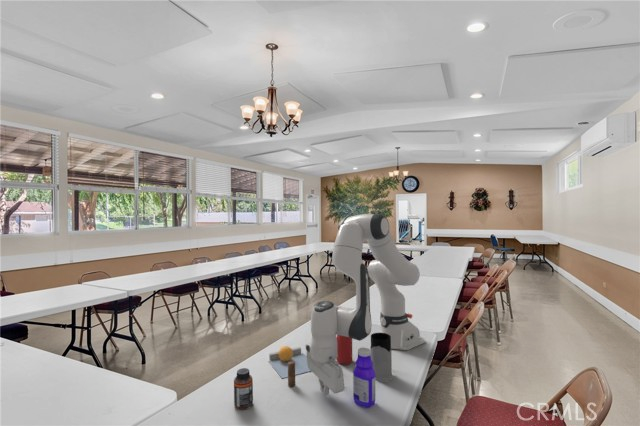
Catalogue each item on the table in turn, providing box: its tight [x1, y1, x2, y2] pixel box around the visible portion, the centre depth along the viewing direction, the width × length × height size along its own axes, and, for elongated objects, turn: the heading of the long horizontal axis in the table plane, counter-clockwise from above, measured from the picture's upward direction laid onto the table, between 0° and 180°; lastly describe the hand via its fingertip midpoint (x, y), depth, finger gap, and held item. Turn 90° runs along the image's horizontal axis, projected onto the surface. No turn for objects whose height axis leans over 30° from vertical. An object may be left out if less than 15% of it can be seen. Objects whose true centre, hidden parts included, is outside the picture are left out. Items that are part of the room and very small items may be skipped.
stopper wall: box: [268, 346, 302, 361], centre depth 143 cm, size 14×2×2 cm, turn 117°
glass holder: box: [369, 332, 394, 383], centre depth 128 cm, size 9×14×15 cm, turn 158°
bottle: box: [352, 347, 376, 409], centre depth 108 cm, size 7×6×17 cm
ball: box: [278, 345, 293, 362], centre depth 139 cm, size 6×6×6 cm
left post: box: [287, 361, 296, 388], centre depth 119 cm, size 3×3×8 cm
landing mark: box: [267, 352, 312, 380], centre depth 135 cm, size 16×16×1 cm
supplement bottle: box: [233, 367, 254, 411], centre depth 107 cm, size 6×6×11 cm
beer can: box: [336, 335, 353, 365], centre depth 138 cm, size 7×7×12 cm
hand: (324, 392), depth 111 cm, fingers closed
